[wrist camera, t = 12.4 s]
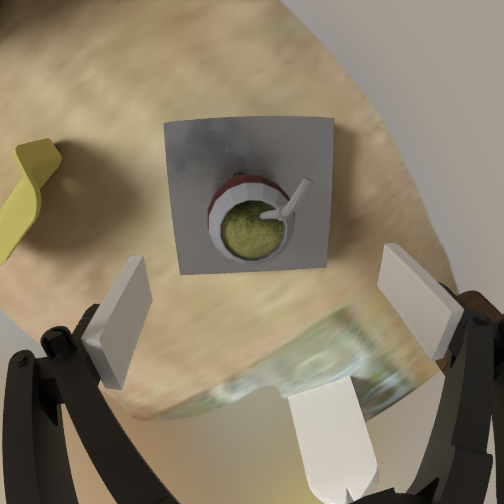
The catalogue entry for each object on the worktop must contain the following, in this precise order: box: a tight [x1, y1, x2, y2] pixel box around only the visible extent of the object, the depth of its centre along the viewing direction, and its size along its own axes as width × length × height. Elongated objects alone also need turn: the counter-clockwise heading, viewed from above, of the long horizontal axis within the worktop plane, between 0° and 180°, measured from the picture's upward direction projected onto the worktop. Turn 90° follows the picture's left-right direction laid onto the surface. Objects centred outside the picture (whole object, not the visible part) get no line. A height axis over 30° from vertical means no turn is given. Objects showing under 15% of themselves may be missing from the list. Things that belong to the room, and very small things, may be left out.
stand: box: [164, 116, 334, 275], centre depth 30 cm, size 16×16×4 cm
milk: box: [288, 376, 379, 504], centre depth 38 cm, size 12×12×26 cm
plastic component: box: [0, 138, 62, 266], centre depth 26 cm, size 20×7×10 cm, turn 124°
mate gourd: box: [208, 172, 314, 264], centre depth 22 cm, size 8×8×15 cm
